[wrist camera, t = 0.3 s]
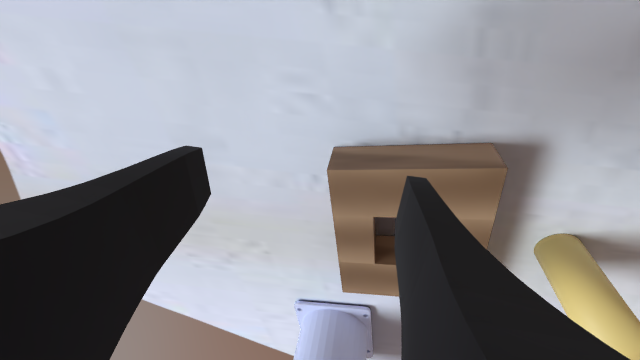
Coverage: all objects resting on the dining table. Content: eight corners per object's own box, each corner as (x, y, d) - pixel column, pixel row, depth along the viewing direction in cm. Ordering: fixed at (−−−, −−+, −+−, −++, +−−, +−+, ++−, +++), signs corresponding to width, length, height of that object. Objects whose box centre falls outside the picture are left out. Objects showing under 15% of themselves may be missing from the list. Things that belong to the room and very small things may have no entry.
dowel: (573, 263, 23) (648, 378, 16) (529, 261, 23) (584, 370, 17) (588, 234, 21) (677, 349, 15) (539, 233, 22) (605, 342, 15)
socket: (464, 270, 25) (473, 302, 23) (346, 263, 27) (342, 292, 25) (491, 142, 19) (507, 168, 16) (333, 147, 21) (326, 170, 18)
